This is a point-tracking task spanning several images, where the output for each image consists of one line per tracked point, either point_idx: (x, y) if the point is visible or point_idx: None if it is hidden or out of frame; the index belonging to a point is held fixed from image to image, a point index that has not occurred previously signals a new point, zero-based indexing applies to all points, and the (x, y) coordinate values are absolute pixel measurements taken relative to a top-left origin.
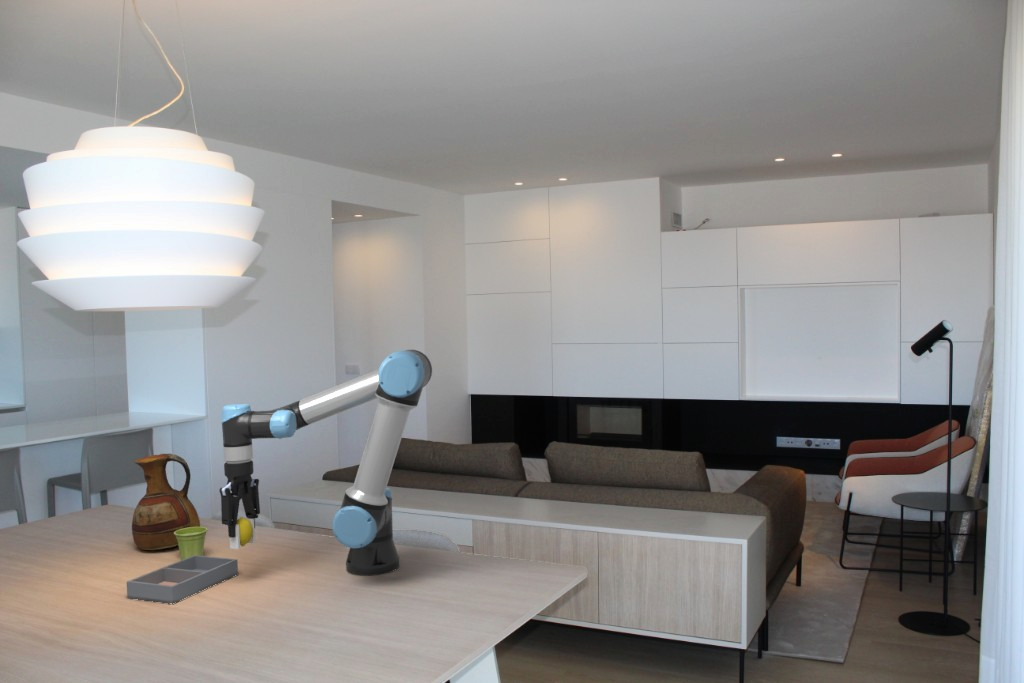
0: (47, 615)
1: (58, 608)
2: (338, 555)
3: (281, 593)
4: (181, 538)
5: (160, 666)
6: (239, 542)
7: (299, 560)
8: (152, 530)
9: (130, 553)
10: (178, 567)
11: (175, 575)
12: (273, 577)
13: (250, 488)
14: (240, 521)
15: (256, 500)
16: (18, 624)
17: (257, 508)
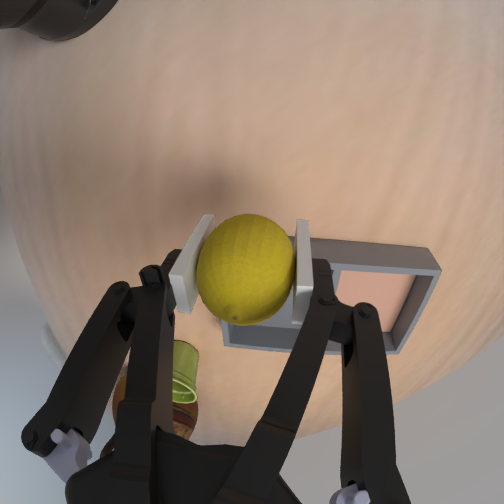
0: (440, 361)
1: (418, 368)
2: (42, 115)
3: (319, 34)
4: (195, 388)
5: None
6: (299, 231)
7: (88, 167)
8: (188, 418)
9: (204, 404)
10: (279, 340)
11: None
12: (206, 134)
13: (116, 449)
14: (263, 300)
15: (97, 344)
16: (460, 362)
17: (115, 305)
